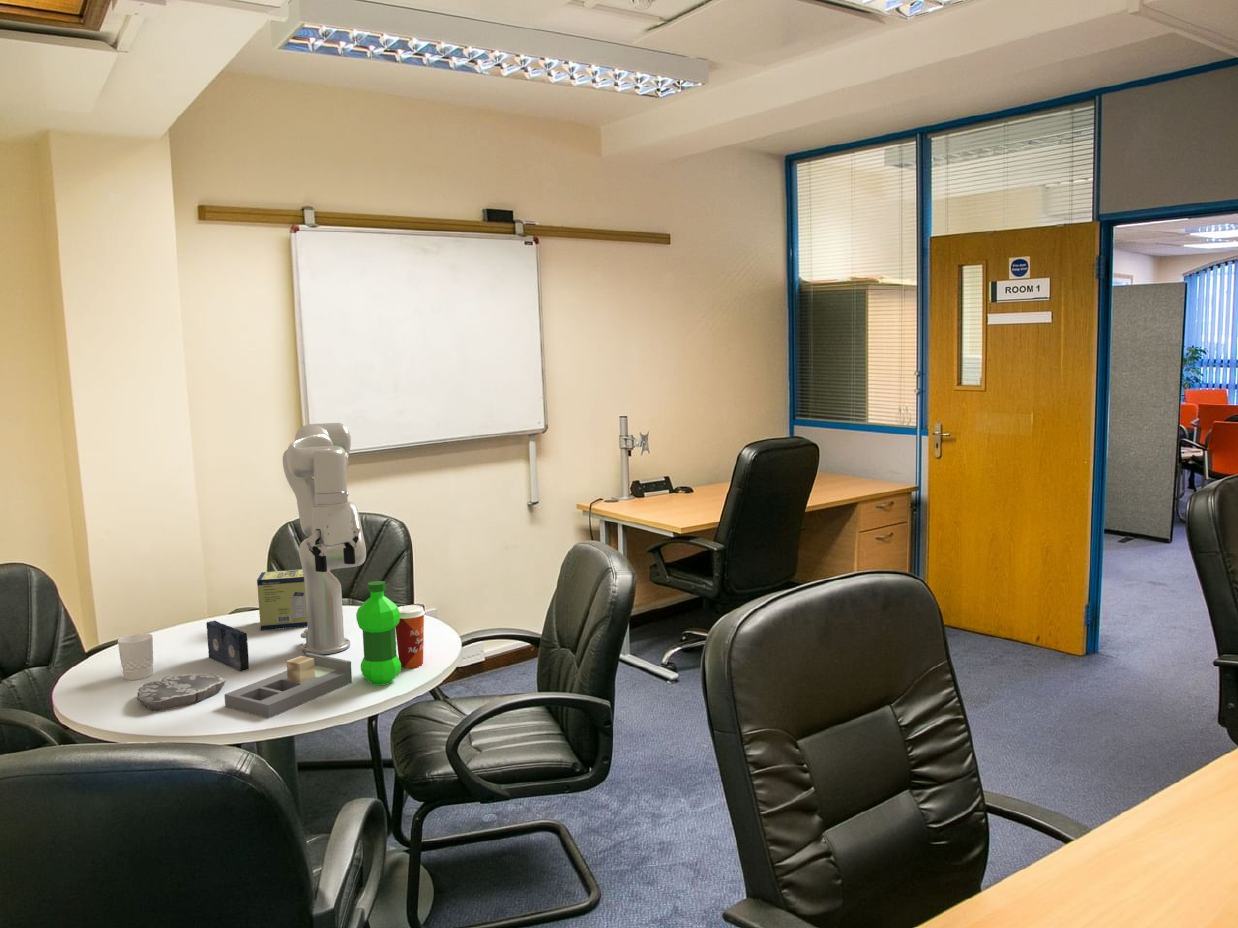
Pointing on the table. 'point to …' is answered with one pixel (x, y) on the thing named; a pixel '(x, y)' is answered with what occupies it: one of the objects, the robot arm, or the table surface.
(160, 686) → the brain slice
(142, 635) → the white cup
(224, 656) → the vhs cassette tape
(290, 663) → the birch block
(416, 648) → the coffee cup
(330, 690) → the box
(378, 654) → the plastic bottle
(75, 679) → the table surface
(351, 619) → the table surface
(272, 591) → the protein box
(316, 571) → the robot arm
